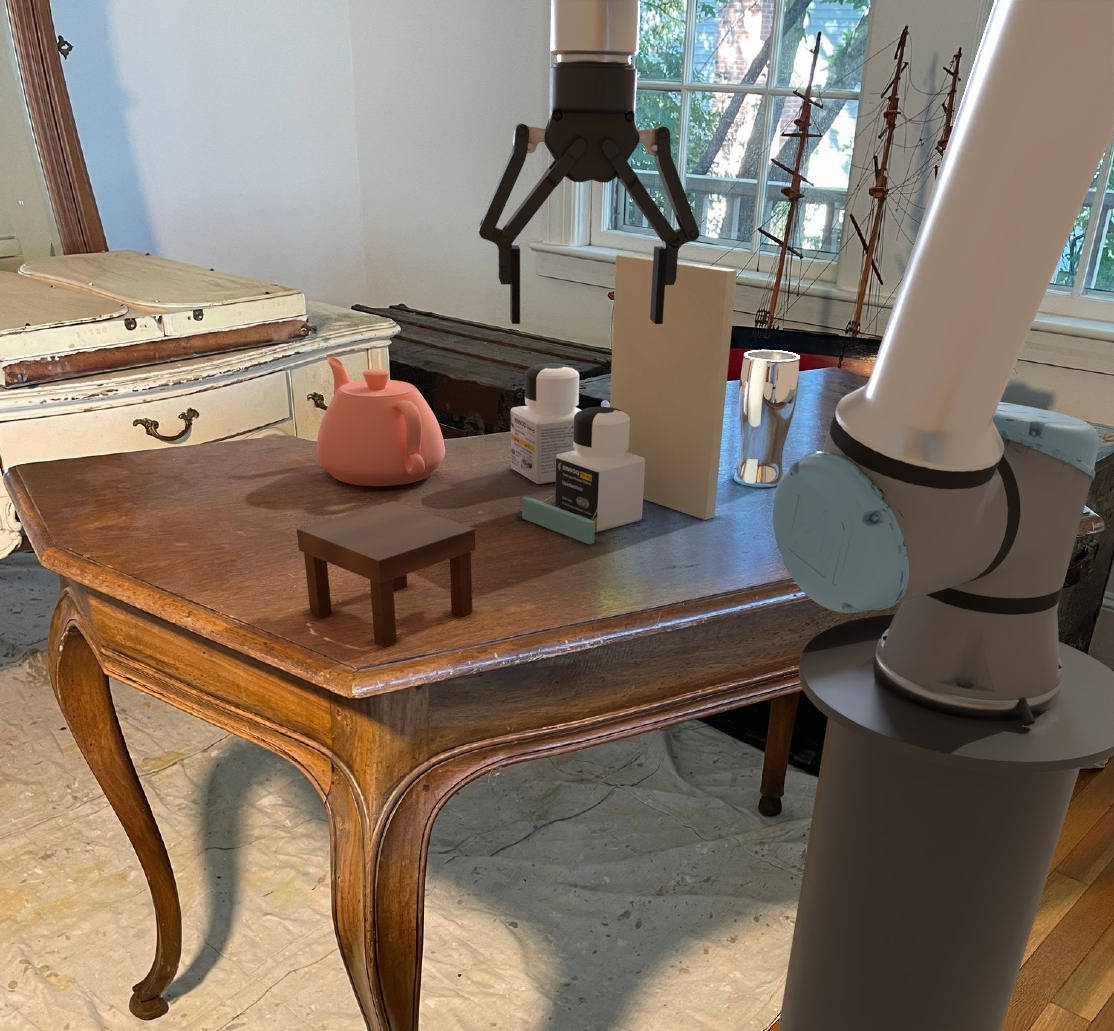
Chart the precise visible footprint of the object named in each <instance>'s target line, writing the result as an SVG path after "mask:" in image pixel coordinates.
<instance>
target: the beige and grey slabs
mask: <svg viewBox="0 0 1114 1031" xmlns="http://www.w3.org/2000/svg"><path fill="white" fill-rule="evenodd" d="M737 273H738V270H737V269H733V268H725V267H718V266H712V265H704V264H698V263H691V262H684V261H677V274H676V281H675V283H674V285H665V294H664V310H663V324H654V323H653V322H652V321H651V320H650V309H651V292H652V274H653V257H649V256H642V255H634V254H628V253H625V254H616V255H615V272H614V276H615V277H614V295H613V317H612V318H613V320H612V344H611V346H612V347H611V348H612V349H611V370H610V371H611V372H610V397H609V403H610V407H611V408H616V409H619V410H622V411H623V412H625V413H627V414H628V415H629V417H630V431H629V449H628V451H626V452H628V453H631V454H634V455H637V456H640V457H643V458H645V474H644V491H643V501H644V500H645V501H648V502H651V503H653V504H657V505H660V506H662V507H666V508H668V509H671V510H674V511H676V512H680V513H683V514H686V515H689V516H692V517H695V518H697V519H701V520H703V521H707V520H710V519H714V518H715V515H716V505H717V504H716V503H717V502H716V501H717V493H718V484H719V483H718V482H719V472H720V459H721V450H722V449H721V448H722V438H723V429H724V428H723V427H724V419H725V418H724V415H725V407H726V406H725V404H726V395H727V384H728V375H729V374H728V372H729V363H730V362H729V361H730V352H731V350H730V349H731V340H732V329H733V318H734V309H735V308H734V307H735V297H736V285H737V284H736V283H737ZM521 503H522V504H521V509H522V510H521V518H522V519H523V520H526V521H528V522H531V523H533V524H536V525H539V526H541V527H544V528H546V529H548V530H551V531H553V532H556V533H558V534H561V535H564V536H567V537H568V538H571V539H574V540H576V541H579V542H581V543H584V544H587V545H593V544H595V537H596V536H595V533H596V532H595V521H592V520H589V519H587V518H584V517H581V516H579V515H576V514H573V513H571V512H568V511H565V510H562V509H560V508H557V507H555V505H552V504H549V503H546V502H543V501H541V500H538V499H535V498H533V497H530V496H524V497H522V498H521Z"/></svg>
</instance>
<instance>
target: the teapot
mask: <svg viewBox="0 0 1114 1031" xmlns="http://www.w3.org/2000/svg"><path fill="white" fill-rule="evenodd" d="M327 363H328V365H329V367H330V369H331V372H332V376H333V396H332V398H331V400H330V402H329V404H328V405H327V408H326V410H325V412H324V413H323V414H324V415H323V416H322V419H321V422H320V425H319V428H318V431H317V432H318V433H317V438H316V458H317V459H318V462H319V463H320V465H321V466H322V467H323V468H324V469H325V471H327V472H328V474H330V475H331V476H332V477H333V478H334V479H335V480H338V481H340V482H343V483H346V484H350V485H356V486H364V487H390V486H391V487H392V486H398V485H399V486H400V485H407V484H412V483H416V482H420V481H422V480H425V479H427V478H429V477H431V476H432V475H433V474H434V473H435V471H436V470H437V469H438V468H439V467H440V465H441V463H442V462H443V460H444V458H445V456H446V455H445V454H446V447H445V441H444V437H443V434H442V430H441V426H440V424H439V422H438V419H437V418H436V416H435V413H434V412H433V410H432V409H431V407H430V405H429V403H428V402H427V401H426V399H425V398H424V396H423V395H422V393H421V392H420V391H419V389H418V388H417V386H416V385H413V384H412V383H409V382H406V381H401V380H396V379H395V380H394V379H393V380H392V379H389V378H390V371H389V370H386V369H382V368H373V369H367V370H364V371H363V372H362V376H363V378H364V380H357V381H352V382H351V380H350V377H349V374H348V372H347V369H346V367H345V365H344V364H343V362H341V360H339V359H338V358H337V357H333V356H328V357H327Z"/></svg>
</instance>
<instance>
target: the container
mask: <svg viewBox="0 0 1114 1031" xmlns="http://www.w3.org/2000/svg"><path fill="white" fill-rule="evenodd" d="M579 391H580V372H579V371H578V370H577V369H576V368H575V367H573V366H570V365H568V364H563V363H538V364H535V365H532V366H531V367H529V368H527V369H526V371H525V372H524V404H525V405H523V406H522V405H521V406H513V407H512V408H511V409H510V467H511V469H512V470H514V471H515V472H516V473H518V474H520V475H521V476H523V477H525V478H527V479H528V480H530V481H531V482H533V483H534V484H536V485H543V484H544V485H545V484H549V483H550V484H551V483H556V456H557V455H558V454H561V453H566V452H570V451H575V449H574V448H573V440H574V416H575V415H576V413H577V412H579V411H581V410H582V409H580V408H578V407H577V406H579V403H580V402H579V399H580V395H579V394H580V392H579Z"/></svg>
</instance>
